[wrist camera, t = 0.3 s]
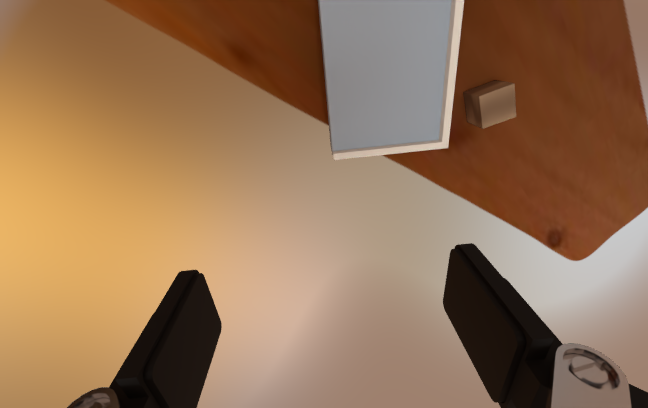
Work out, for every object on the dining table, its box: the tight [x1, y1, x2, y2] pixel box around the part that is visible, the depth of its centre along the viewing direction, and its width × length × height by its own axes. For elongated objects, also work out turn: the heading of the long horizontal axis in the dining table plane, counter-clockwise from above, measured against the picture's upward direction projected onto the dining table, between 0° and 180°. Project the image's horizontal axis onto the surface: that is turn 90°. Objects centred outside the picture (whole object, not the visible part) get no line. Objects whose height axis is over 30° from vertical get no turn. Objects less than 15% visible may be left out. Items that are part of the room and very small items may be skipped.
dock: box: [318, 0, 464, 160], centre depth 33 cm, size 18×14×5 cm
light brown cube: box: [463, 80, 516, 129], centre depth 36 cm, size 4×4×4 cm
